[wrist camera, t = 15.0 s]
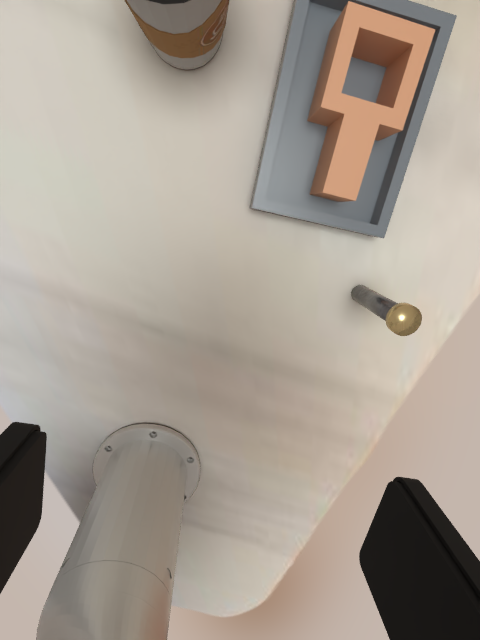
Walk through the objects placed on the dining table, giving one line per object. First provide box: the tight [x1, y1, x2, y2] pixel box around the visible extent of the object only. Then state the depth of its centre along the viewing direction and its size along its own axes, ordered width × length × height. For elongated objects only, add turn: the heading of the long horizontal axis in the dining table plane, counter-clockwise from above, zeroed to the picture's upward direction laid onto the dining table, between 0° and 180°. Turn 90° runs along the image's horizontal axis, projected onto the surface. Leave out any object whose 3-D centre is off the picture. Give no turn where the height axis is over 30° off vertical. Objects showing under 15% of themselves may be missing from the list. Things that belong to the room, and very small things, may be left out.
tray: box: [250, 0, 456, 238], centre depth 31 cm, size 18×13×2 cm
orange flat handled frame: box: [307, 1, 435, 202], centre depth 30 cm, size 7×13×4 cm, turn 167°
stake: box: [351, 285, 422, 336], centre depth 33 cm, size 3×3×10 cm
